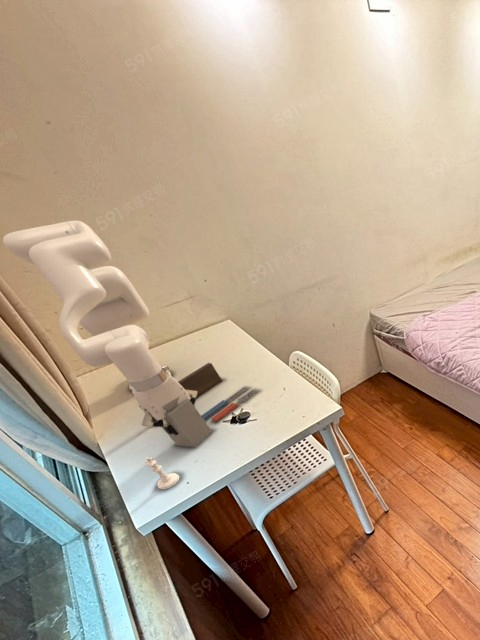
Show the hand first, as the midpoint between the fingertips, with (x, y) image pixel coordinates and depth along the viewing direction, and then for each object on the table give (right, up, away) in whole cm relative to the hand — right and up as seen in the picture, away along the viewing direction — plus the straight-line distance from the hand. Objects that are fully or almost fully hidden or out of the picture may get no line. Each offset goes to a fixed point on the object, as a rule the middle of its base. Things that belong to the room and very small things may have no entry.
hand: (185, 425), depth 116 cm
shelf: (-14, +6, +18) cm, 24 cm away
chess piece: (+3, -14, -9) cm, 18 cm away
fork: (+5, +4, +15) cm, 16 cm away
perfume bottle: (0, -5, +4) cm, 6 cm away
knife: (+1, +5, +16) cm, 17 cm away
